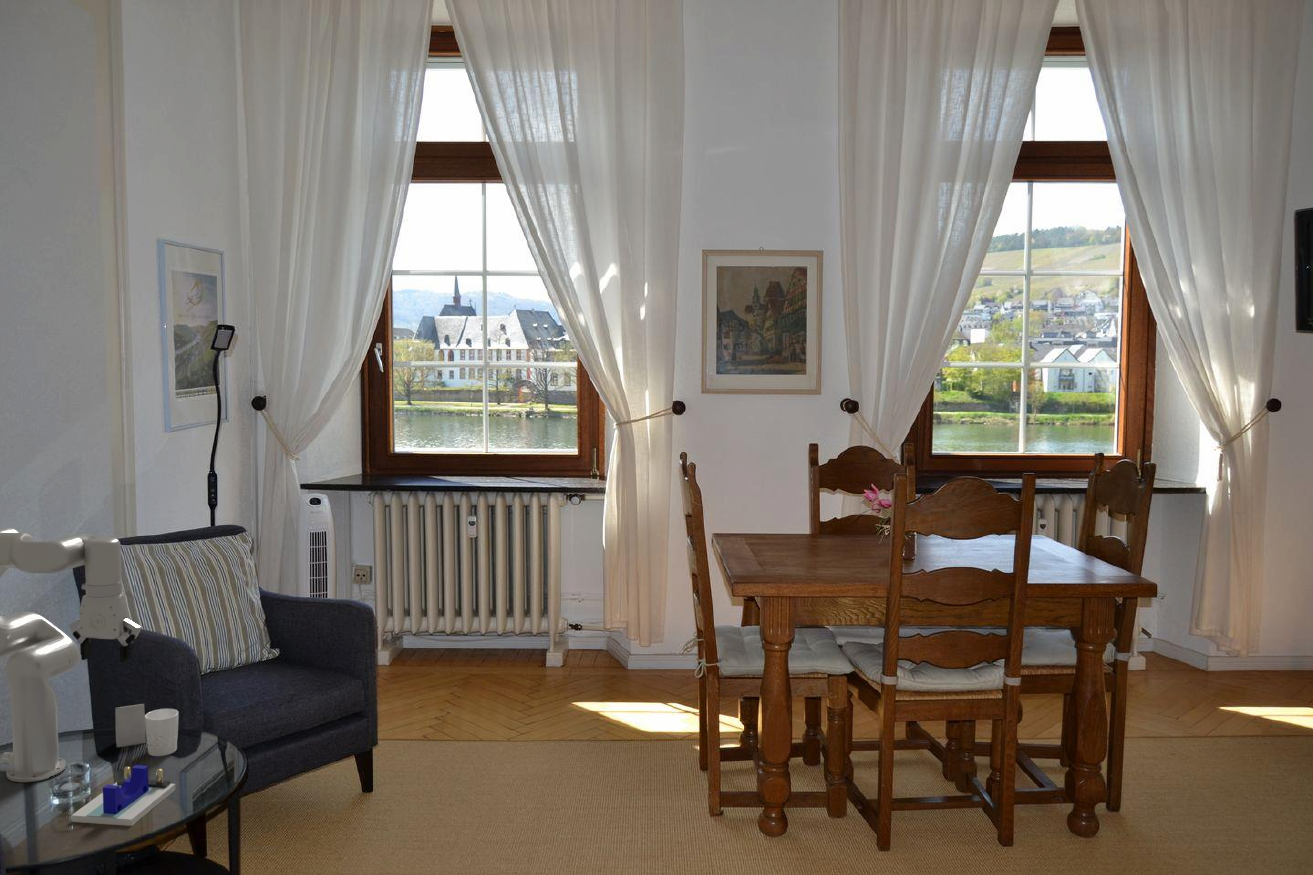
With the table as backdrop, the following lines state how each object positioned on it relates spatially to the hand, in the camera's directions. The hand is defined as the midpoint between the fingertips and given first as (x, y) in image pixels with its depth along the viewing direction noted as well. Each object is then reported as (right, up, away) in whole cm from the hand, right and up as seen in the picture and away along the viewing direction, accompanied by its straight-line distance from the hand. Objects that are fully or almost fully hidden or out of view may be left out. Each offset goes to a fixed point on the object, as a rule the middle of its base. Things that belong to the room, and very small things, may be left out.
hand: (106, 659), depth 248 cm
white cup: (+4, -29, +21) cm, 36 cm away
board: (+9, -32, -9) cm, 34 cm away
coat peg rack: (+10, -29, -2) cm, 31 cm away
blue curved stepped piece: (+10, -31, -11) cm, 34 cm away
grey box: (-7, -28, +26) cm, 39 cm away
